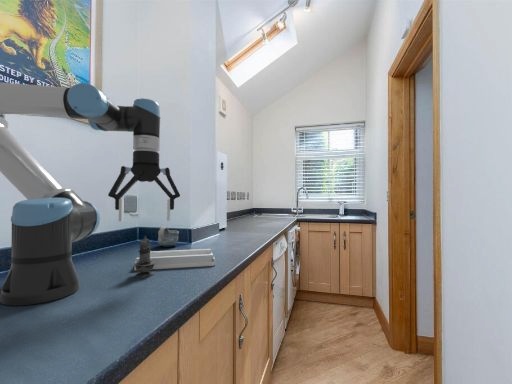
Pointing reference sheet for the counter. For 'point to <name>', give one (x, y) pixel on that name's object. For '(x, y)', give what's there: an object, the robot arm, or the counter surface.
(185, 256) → the rail board
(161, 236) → the mug
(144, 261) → the stone tower figurine
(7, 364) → the counter surface
